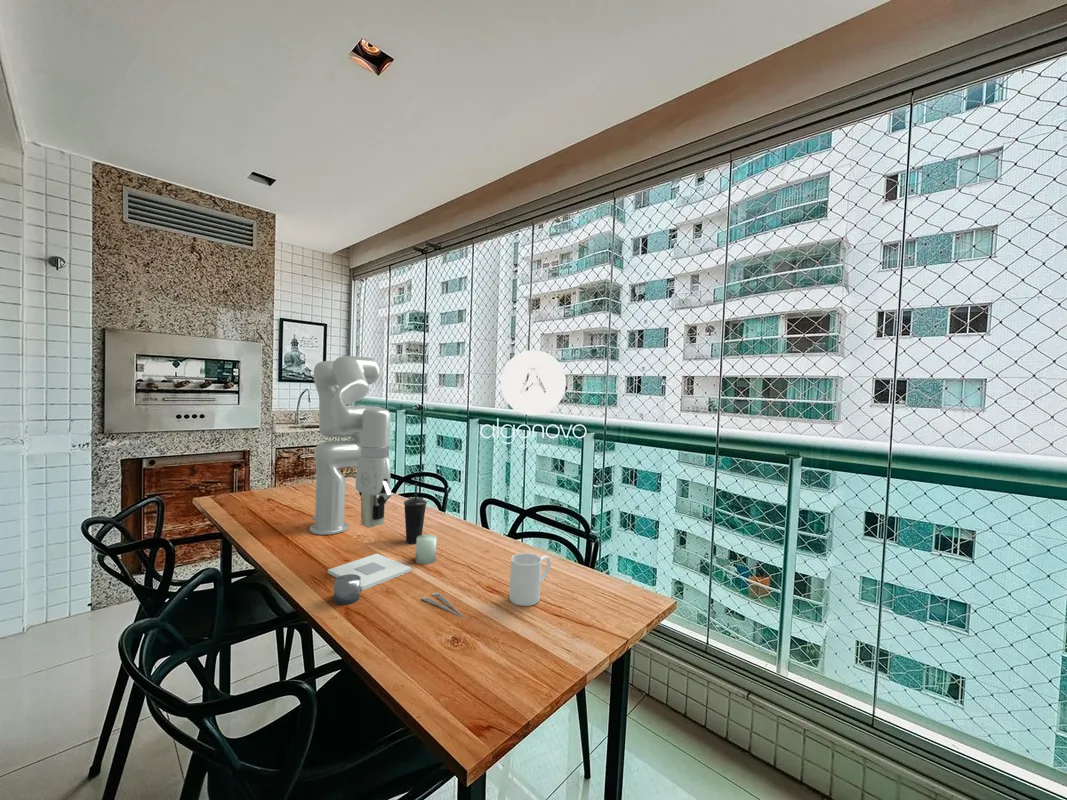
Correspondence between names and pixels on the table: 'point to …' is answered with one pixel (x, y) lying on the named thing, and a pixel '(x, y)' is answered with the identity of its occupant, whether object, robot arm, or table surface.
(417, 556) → the pale green capsule
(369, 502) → the box
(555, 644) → the table surface
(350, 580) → the dark tin
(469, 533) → the table surface
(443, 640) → the table surface
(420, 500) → the drinking cup
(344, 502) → the robot arm
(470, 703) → the table surface
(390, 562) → the white square plate
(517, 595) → the mug
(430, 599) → the tweezers
